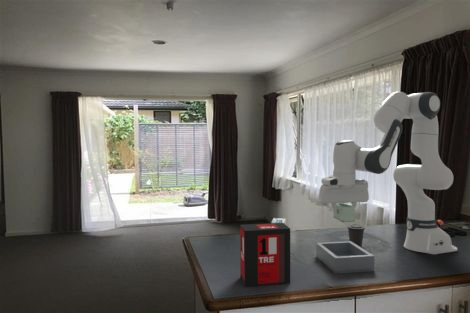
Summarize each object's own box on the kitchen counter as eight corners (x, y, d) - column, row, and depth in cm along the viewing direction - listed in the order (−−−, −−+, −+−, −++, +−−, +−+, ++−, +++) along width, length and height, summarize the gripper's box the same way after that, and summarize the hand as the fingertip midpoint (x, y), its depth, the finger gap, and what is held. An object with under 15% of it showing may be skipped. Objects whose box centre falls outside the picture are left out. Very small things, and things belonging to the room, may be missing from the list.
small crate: (344, 217, 152) (344, 202, 152) (354, 221, 143) (354, 207, 143) (333, 217, 152) (333, 203, 151) (342, 222, 143) (342, 207, 142)
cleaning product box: (245, 287, 126) (244, 230, 125) (240, 277, 135) (240, 224, 133) (290, 283, 128) (290, 228, 127) (283, 274, 137) (282, 222, 136)
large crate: (350, 254, 159) (350, 241, 159) (374, 271, 140) (374, 255, 139) (316, 256, 157) (316, 242, 157) (335, 273, 137) (335, 258, 137)
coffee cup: (356, 242, 177) (356, 222, 176) (368, 247, 170) (368, 226, 169) (343, 245, 173) (343, 224, 173) (355, 249, 166) (355, 228, 166)
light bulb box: (285, 244, 175) (284, 223, 174) (271, 244, 176) (271, 222, 175) (286, 238, 185) (286, 218, 184) (273, 238, 186) (273, 217, 186)
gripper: (364, 178, 151) (363, 210, 152) (317, 179, 148) (317, 212, 149) (372, 180, 145) (371, 214, 146) (323, 181, 142) (323, 215, 143)
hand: (343, 213), depth 147 cm, fingers closed on small crate, 5 cm apart
